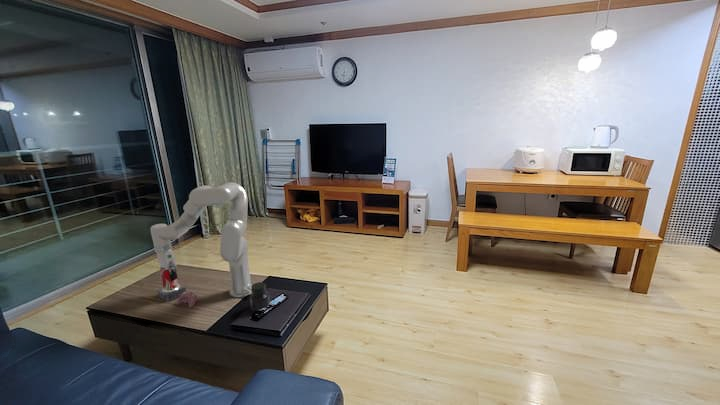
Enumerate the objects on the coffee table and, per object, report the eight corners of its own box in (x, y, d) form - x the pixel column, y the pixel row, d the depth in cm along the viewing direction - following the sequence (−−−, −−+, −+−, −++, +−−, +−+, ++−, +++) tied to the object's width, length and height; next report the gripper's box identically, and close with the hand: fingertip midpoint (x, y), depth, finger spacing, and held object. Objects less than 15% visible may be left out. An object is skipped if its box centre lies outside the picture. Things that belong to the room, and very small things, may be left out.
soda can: (171, 291, 158) (167, 270, 154) (160, 290, 159) (155, 269, 156) (181, 284, 164) (178, 264, 161) (170, 283, 166) (166, 263, 163)
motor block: (187, 293, 163) (186, 286, 162) (167, 302, 155) (166, 295, 154) (174, 286, 171) (173, 279, 170) (154, 294, 164) (153, 287, 162)
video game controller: (197, 307, 154) (200, 293, 155) (189, 308, 149) (192, 293, 151) (182, 304, 157) (185, 290, 158) (174, 305, 152) (177, 290, 154)
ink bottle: (263, 299, 156) (260, 279, 153) (274, 305, 151) (272, 283, 148) (247, 309, 148) (244, 287, 145) (258, 315, 144) (255, 292, 140)
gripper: (179, 248, 154) (185, 278, 158) (163, 242, 163) (169, 270, 168) (163, 253, 148) (169, 284, 152) (148, 246, 157) (154, 276, 162)
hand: (169, 277), depth 160 cm, fingers open, 9 cm apart
